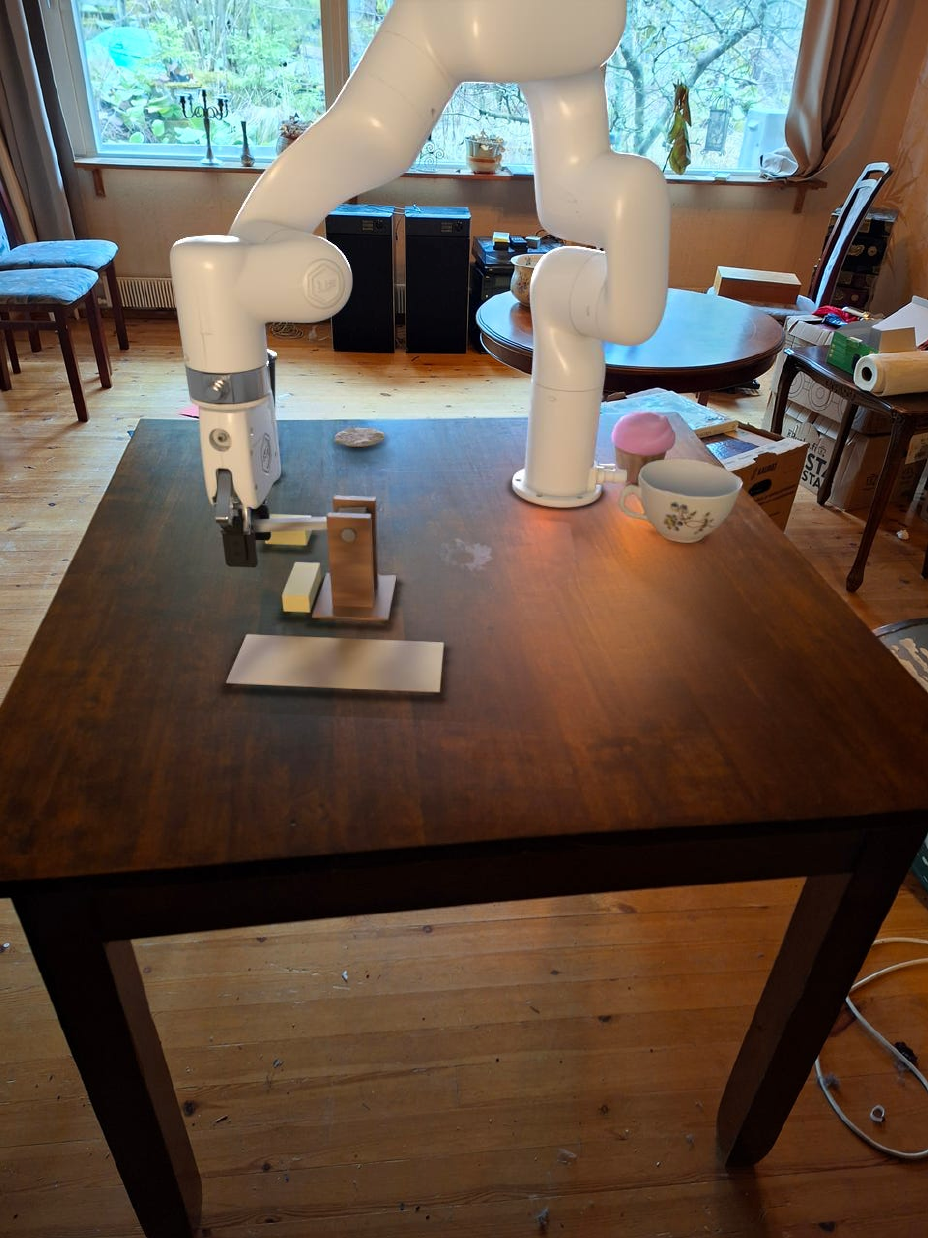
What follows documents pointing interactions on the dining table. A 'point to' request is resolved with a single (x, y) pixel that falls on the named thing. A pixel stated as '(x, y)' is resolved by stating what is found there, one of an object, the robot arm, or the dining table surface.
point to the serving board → (338, 663)
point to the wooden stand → (354, 566)
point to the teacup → (683, 497)
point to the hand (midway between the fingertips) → (249, 550)
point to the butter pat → (289, 533)
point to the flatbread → (359, 437)
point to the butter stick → (301, 587)
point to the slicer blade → (296, 521)
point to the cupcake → (641, 441)
